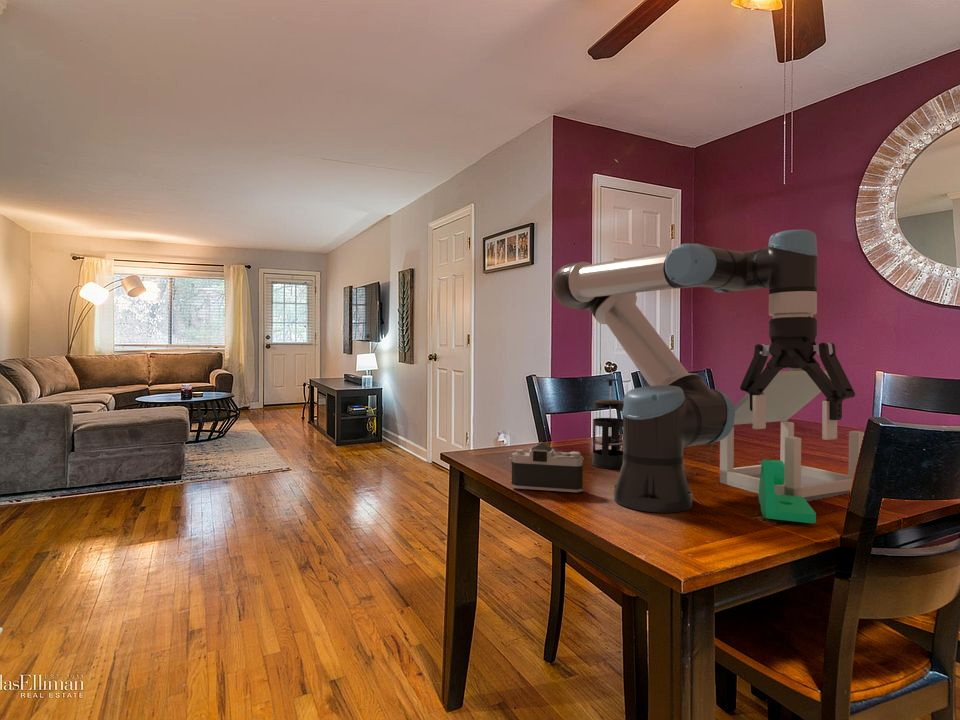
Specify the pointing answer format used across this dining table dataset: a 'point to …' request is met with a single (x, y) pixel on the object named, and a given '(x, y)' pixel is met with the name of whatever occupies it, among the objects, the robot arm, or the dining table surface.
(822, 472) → the frame
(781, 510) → the camera mount
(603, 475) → the dining table surface
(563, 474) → the camera
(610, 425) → the french press
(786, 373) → the lid
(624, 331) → the robot arm
